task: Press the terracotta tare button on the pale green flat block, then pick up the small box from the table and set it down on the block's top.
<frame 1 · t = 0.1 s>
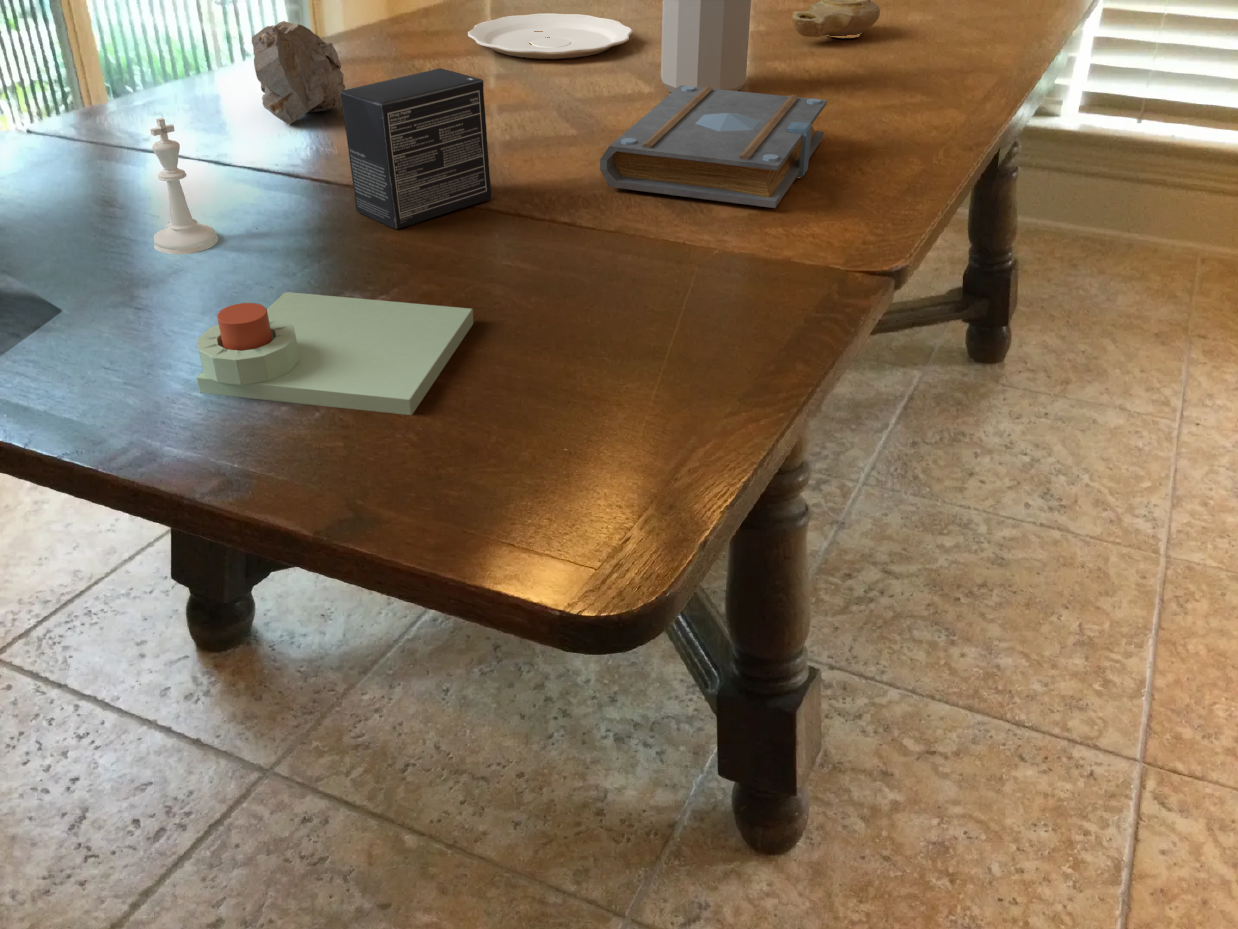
pale green flat block: (344, 356, 77), on the table
book: (719, 166, 110), on the table
rock: (306, 117, 123), on the table
tare button: (244, 327, 72), point 4 cm above the table, slide at 0.1 cm
oil lamp: (834, 40, 153), on the table
plate: (550, 45, 150), on the table
jar: (702, 90, 133), on the table
chess piece: (186, 245, 93), on the table
small box: (424, 207, 101), on the table
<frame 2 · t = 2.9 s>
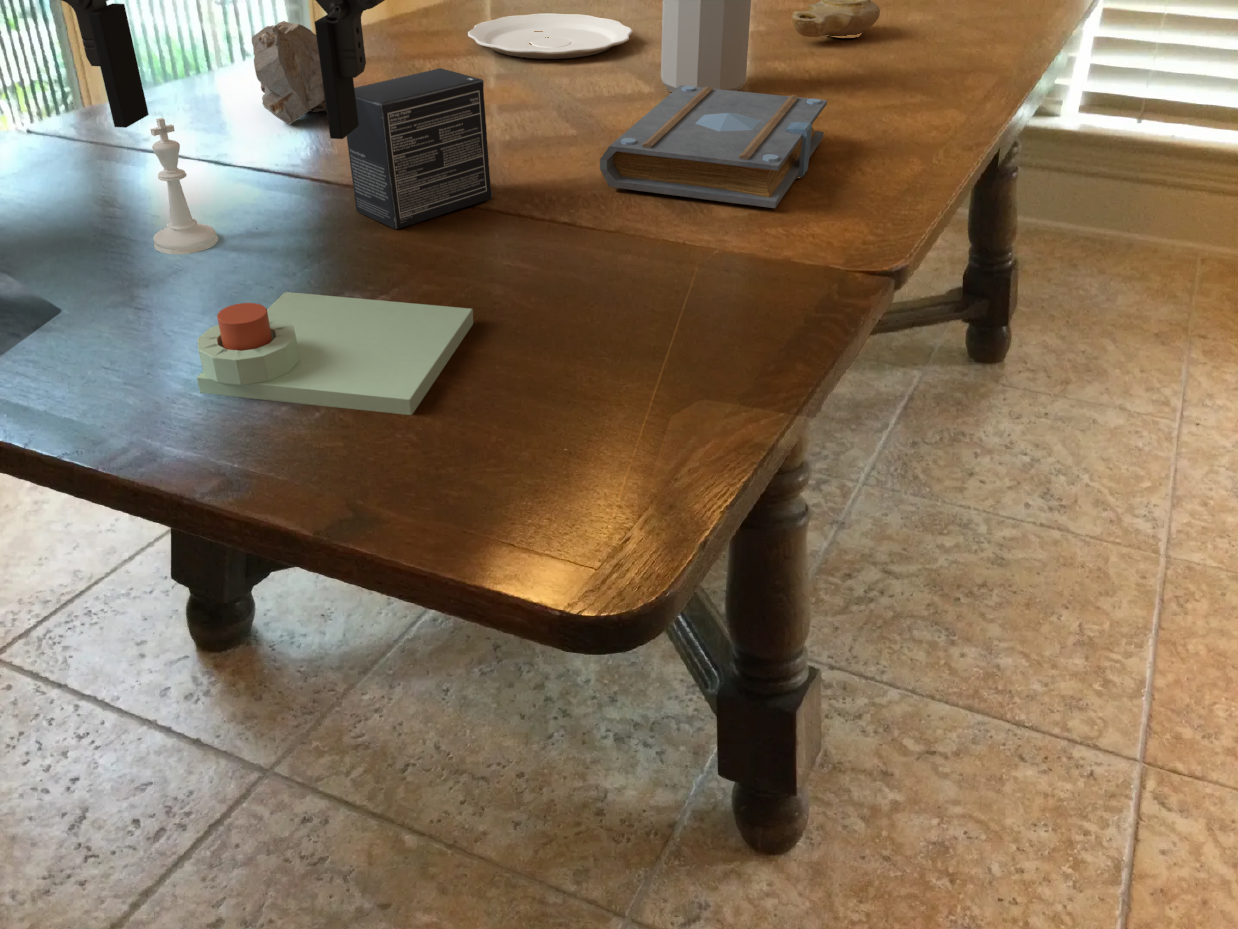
hand: (237, 127, 69), 15 cm above the table, tool pointing down, fingers open, 13 cm apart
nothing on the table moved.
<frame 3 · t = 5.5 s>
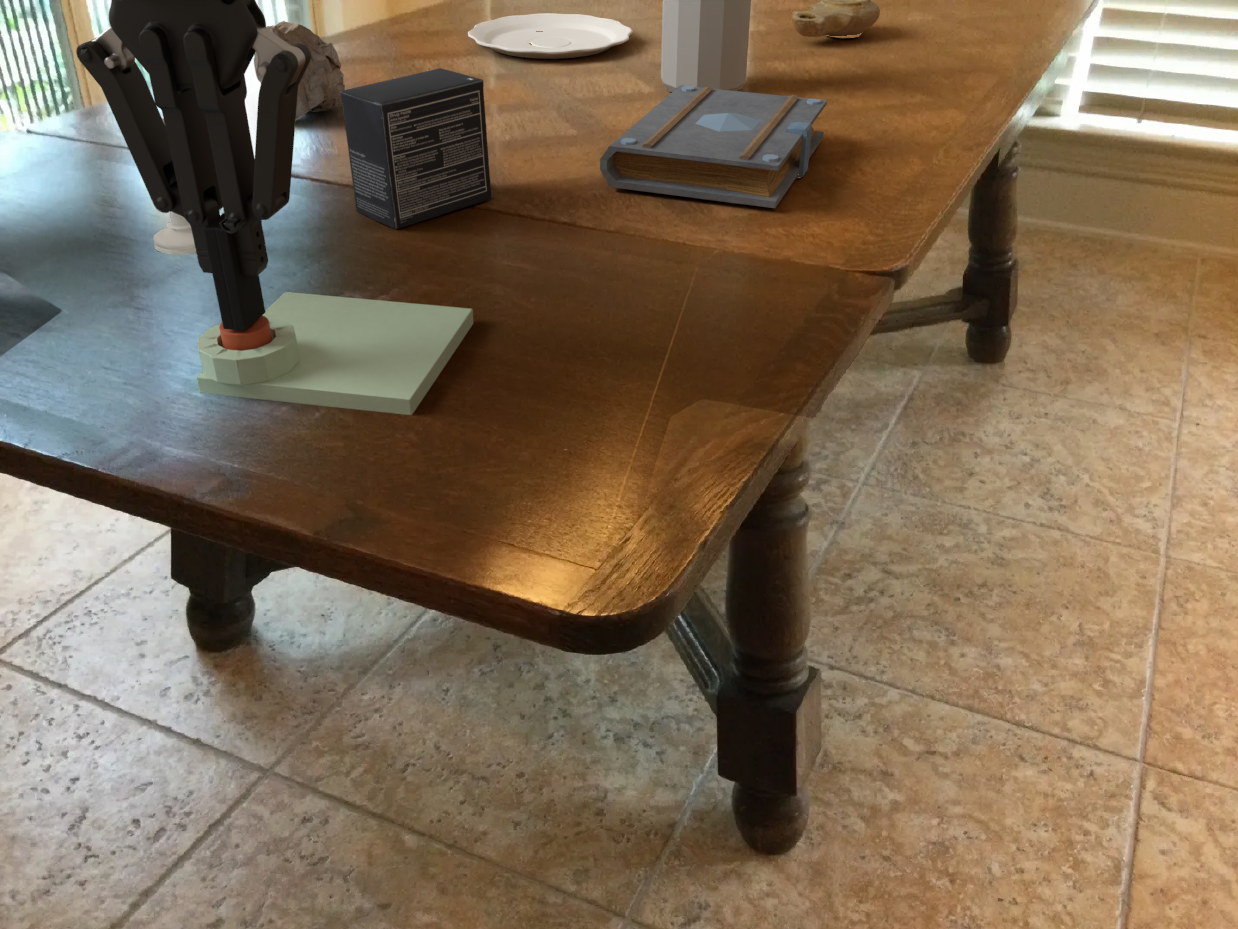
hand: (244, 320, 72), 4 cm above the table, tool pointing down, fingers closed
tare button: (246, 338, 73), point 3 cm above the table, slide at -0.6 cm, touching gripper
everything else where it was.
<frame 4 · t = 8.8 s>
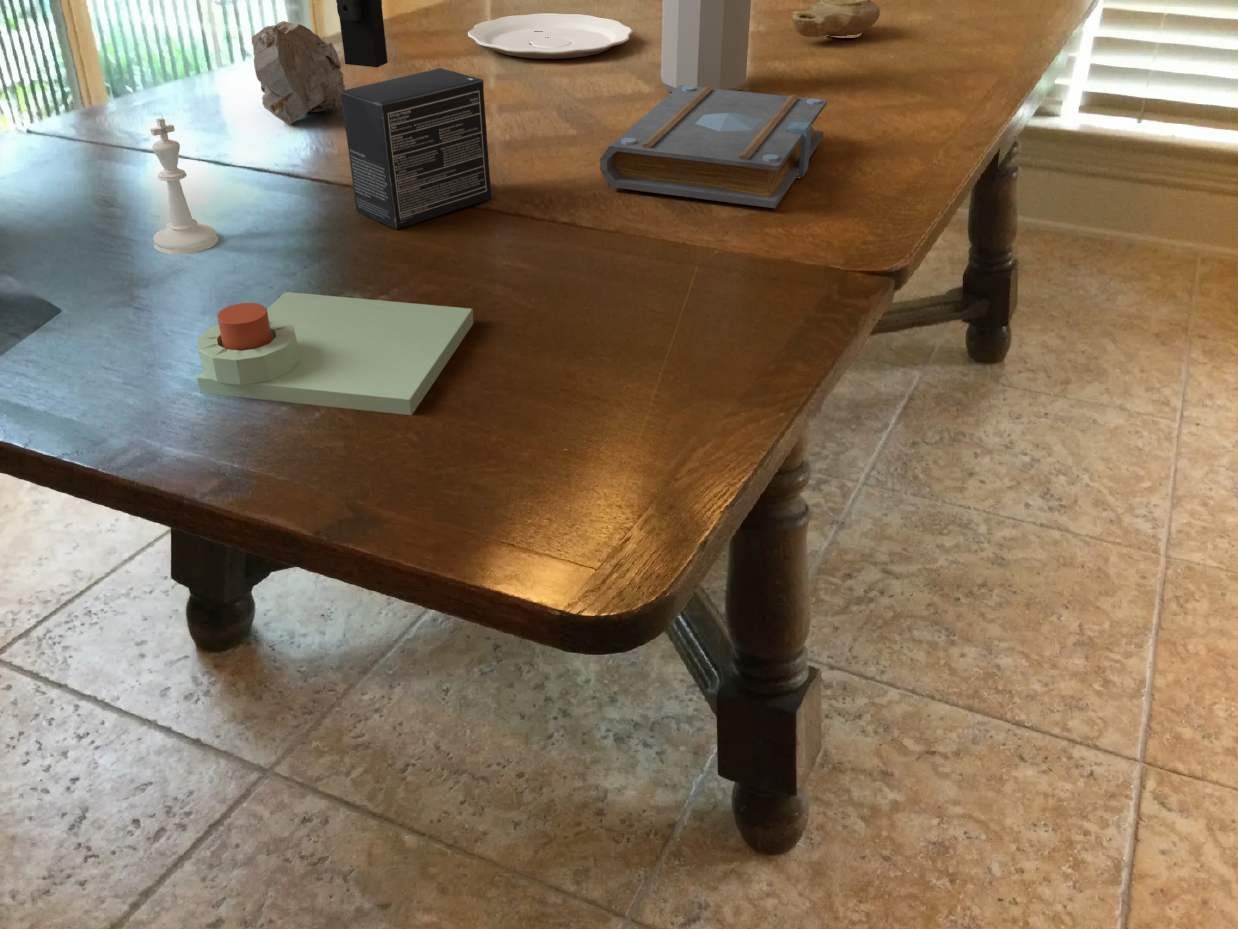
hand: (366, 62, 85), 14 cm above the table, tool pointing down, fingers closed
tare button: (244, 327, 72), point 4 cm above the table, slide at 0.1 cm
everything else where it was.
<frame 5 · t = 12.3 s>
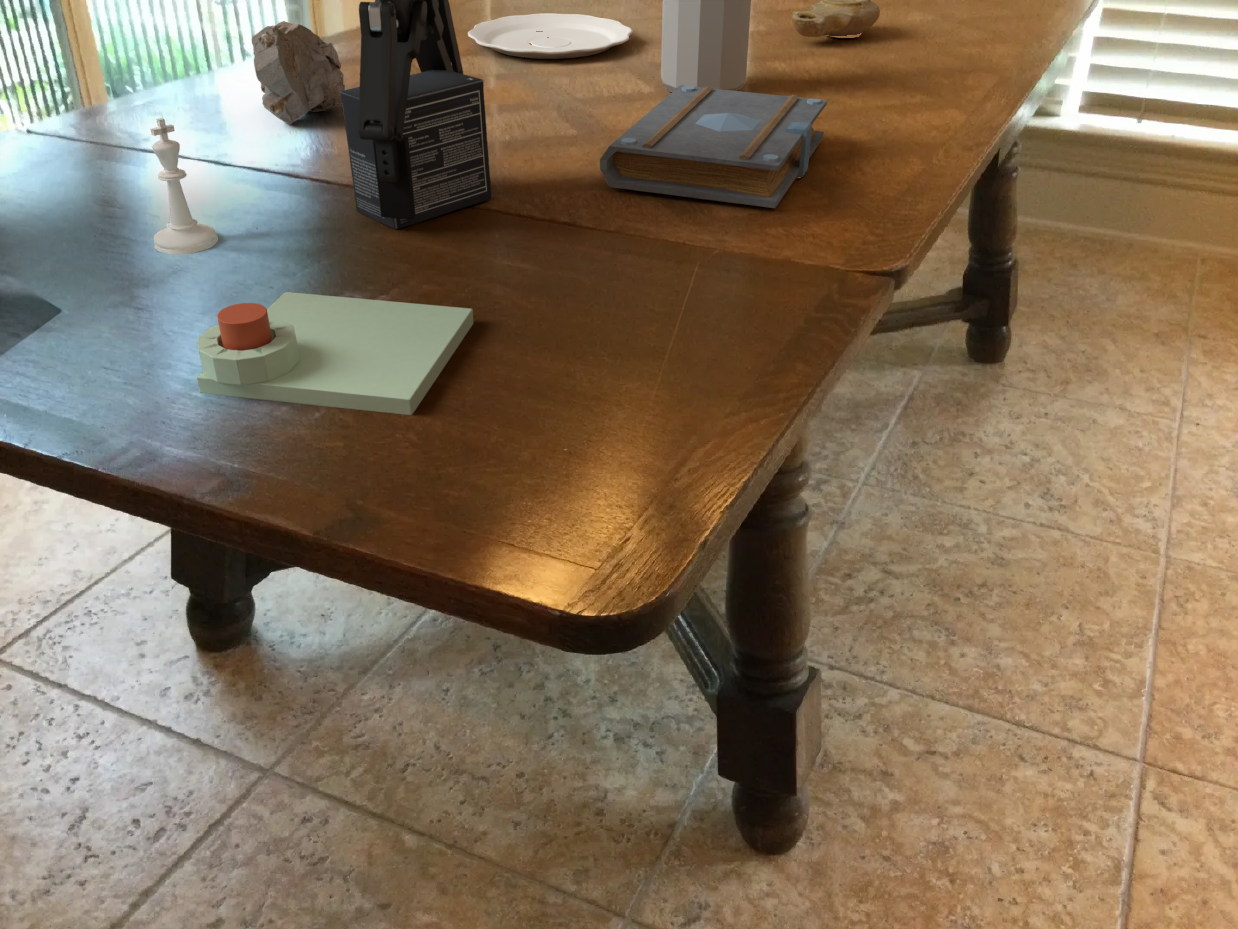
hand: (423, 191, 100), 1 cm above the table, tool pointing down, fingers closed on small box, 12 cm apart
small box: (424, 207, 101), on the table, touching gripper
everything else where it was.
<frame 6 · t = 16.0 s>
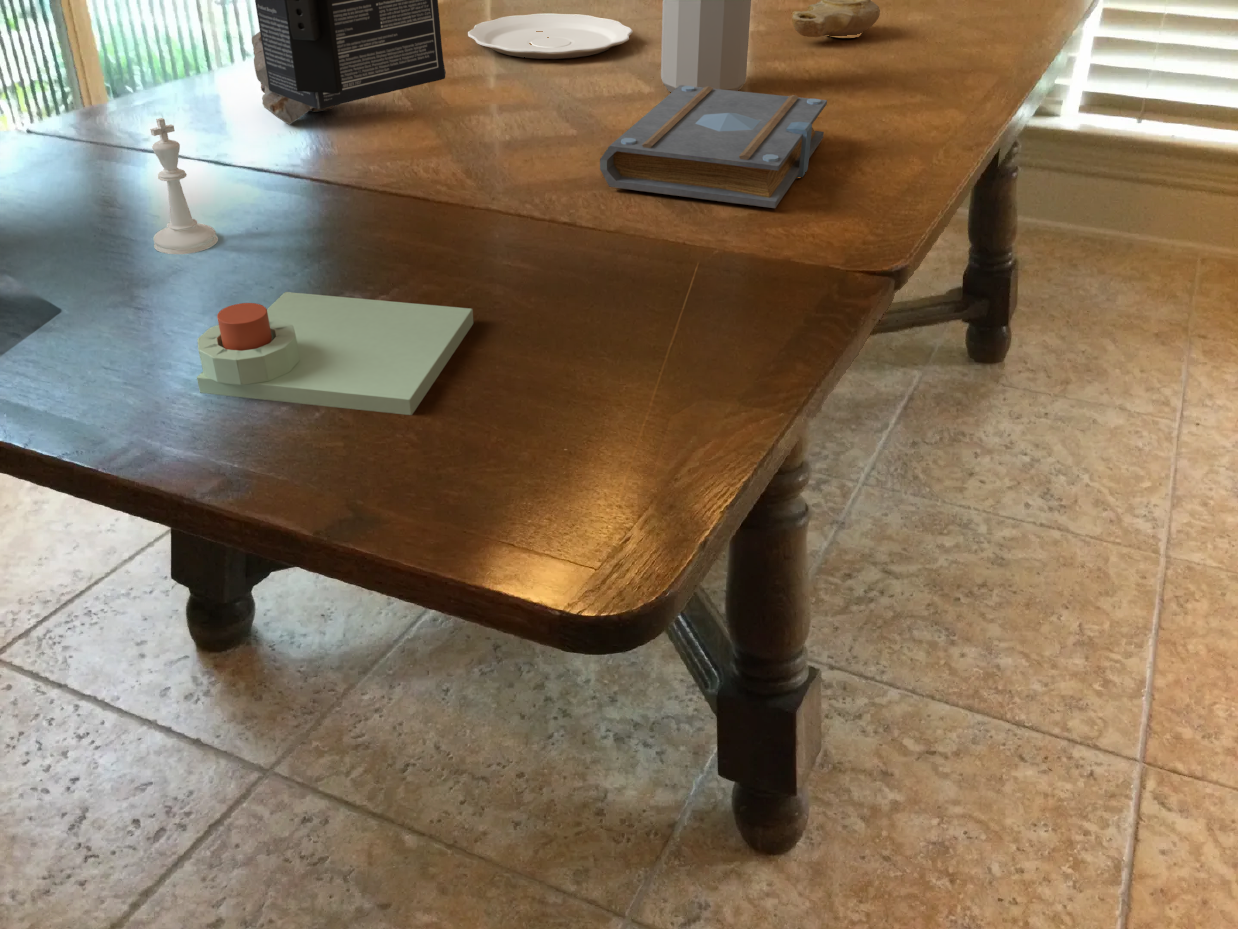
hand: (355, 66, 78), 16 cm above the table, tool pointing down, fingers closed on small box, 12 cm apart
small box: (358, 88, 79), point 15 cm above the table, touching gripper
everything else where it was.
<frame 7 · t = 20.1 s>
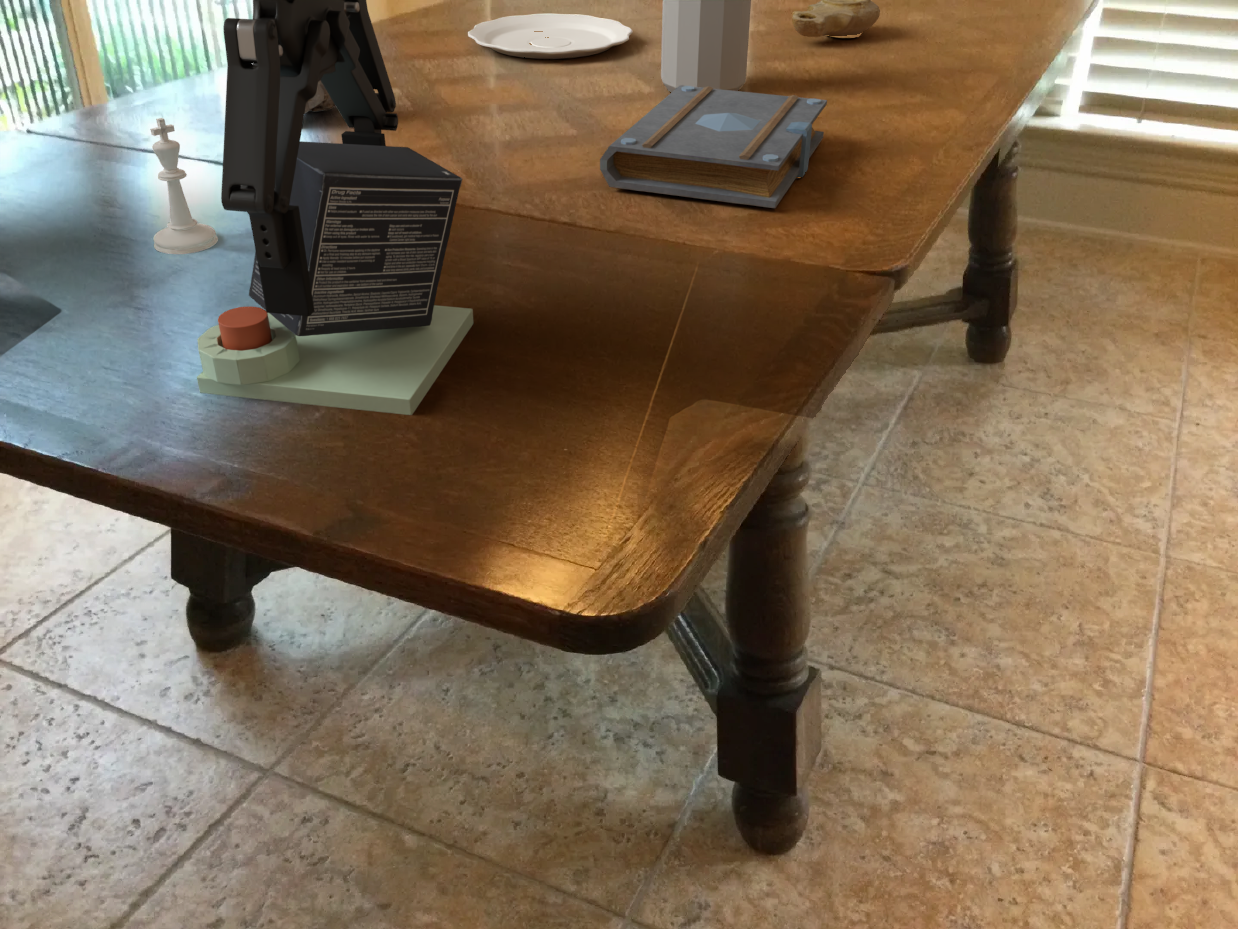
hand: (335, 267, 74), 6 cm above the table, tool pointing down, fingers open, 13 cm apart
tare button: (245, 331, 73), point 3 cm above the table, slide at -0.1 cm, touching small box
small box: (340, 314, 76), point 3 cm above the table, touching gripper, pale green flat block, tare button
everything else where it was.
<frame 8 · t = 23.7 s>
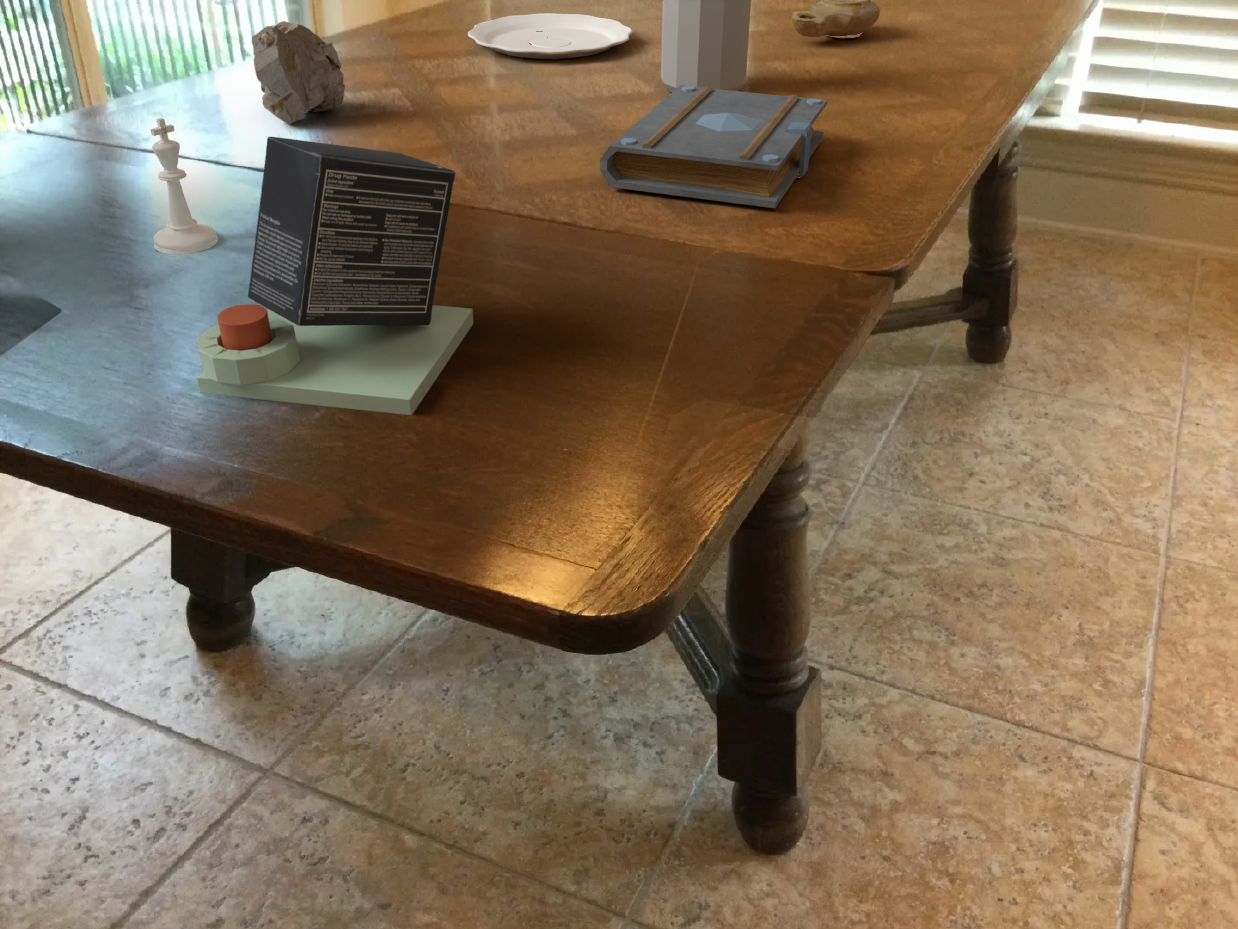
small box: (339, 315, 76), point 3 cm above the table, touching pale green flat block, tare button
everything else where it was.
at the end: tare button pushed in 1.0 cm at the most during the clip, back to where it started at the end; tare button slide at 0.0 cm; small box inside the target area on the pale green flat block (0.4 cm from its centre), point 2.8 cm above the pale green flat block's base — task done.
